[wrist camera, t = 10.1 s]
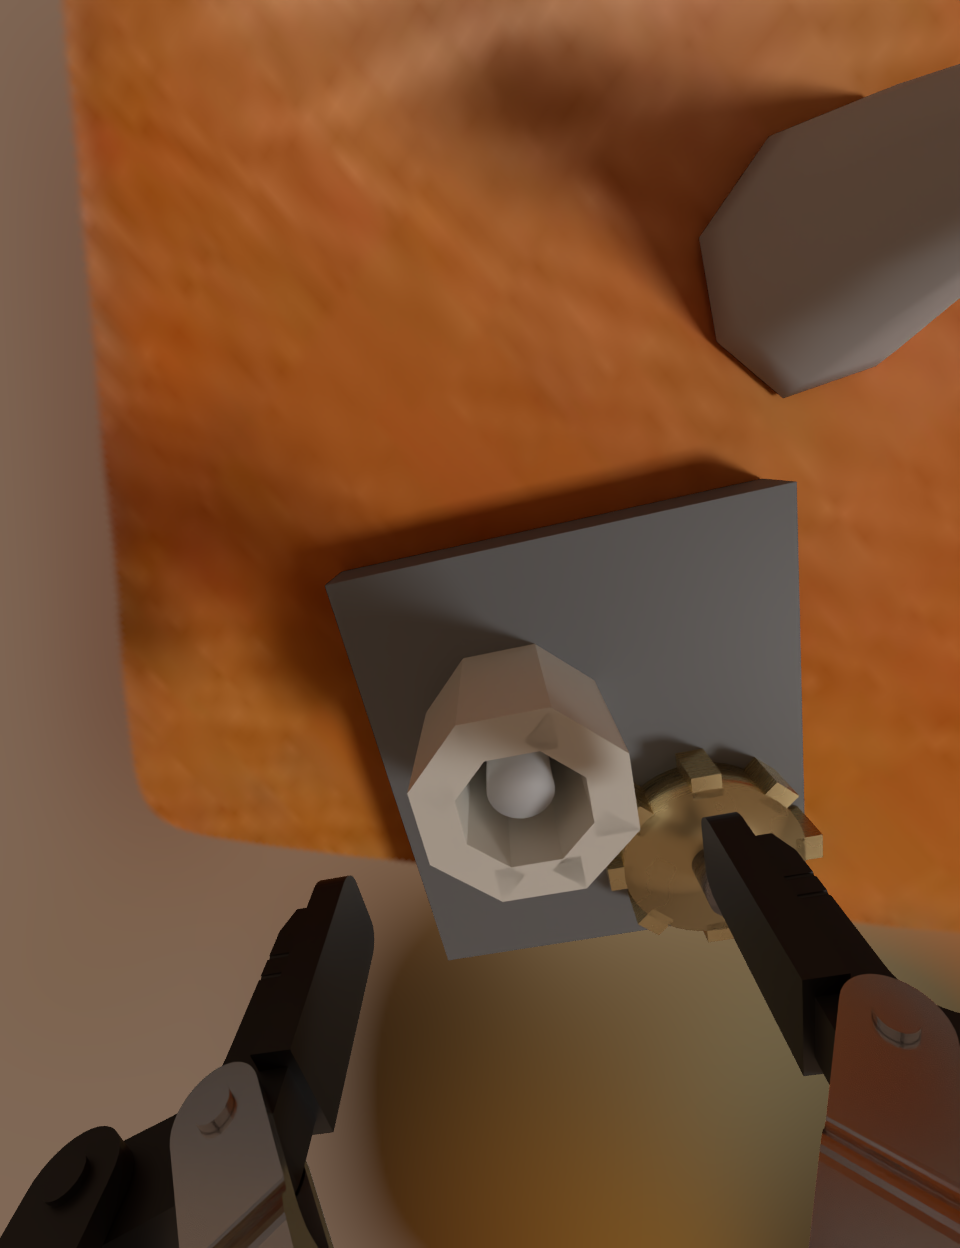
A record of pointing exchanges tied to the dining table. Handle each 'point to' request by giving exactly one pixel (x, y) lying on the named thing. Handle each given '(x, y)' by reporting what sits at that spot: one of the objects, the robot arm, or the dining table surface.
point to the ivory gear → (513, 725)
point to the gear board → (591, 664)
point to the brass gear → (700, 838)
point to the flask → (841, 237)
